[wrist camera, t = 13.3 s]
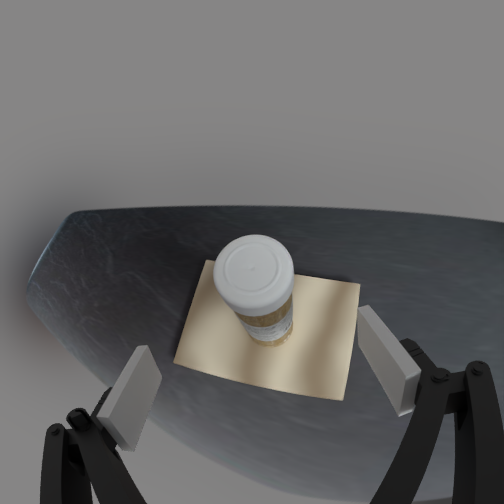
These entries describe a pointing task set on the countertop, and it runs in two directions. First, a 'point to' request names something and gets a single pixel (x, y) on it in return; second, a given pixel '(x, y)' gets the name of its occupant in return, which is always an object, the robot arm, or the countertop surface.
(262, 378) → the birch board
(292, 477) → the countertop surface
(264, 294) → the sprinkles bottle
